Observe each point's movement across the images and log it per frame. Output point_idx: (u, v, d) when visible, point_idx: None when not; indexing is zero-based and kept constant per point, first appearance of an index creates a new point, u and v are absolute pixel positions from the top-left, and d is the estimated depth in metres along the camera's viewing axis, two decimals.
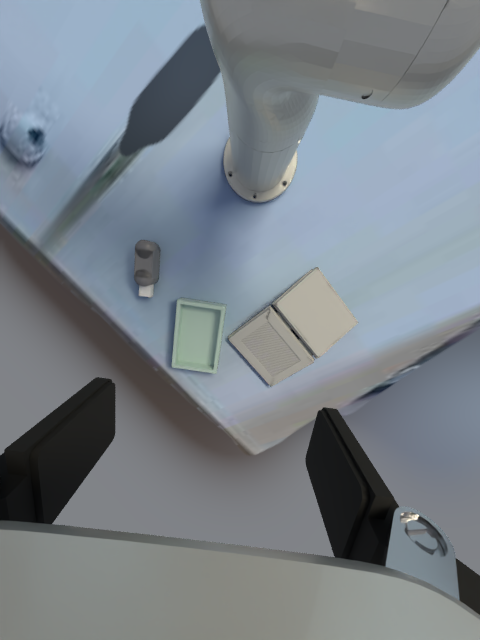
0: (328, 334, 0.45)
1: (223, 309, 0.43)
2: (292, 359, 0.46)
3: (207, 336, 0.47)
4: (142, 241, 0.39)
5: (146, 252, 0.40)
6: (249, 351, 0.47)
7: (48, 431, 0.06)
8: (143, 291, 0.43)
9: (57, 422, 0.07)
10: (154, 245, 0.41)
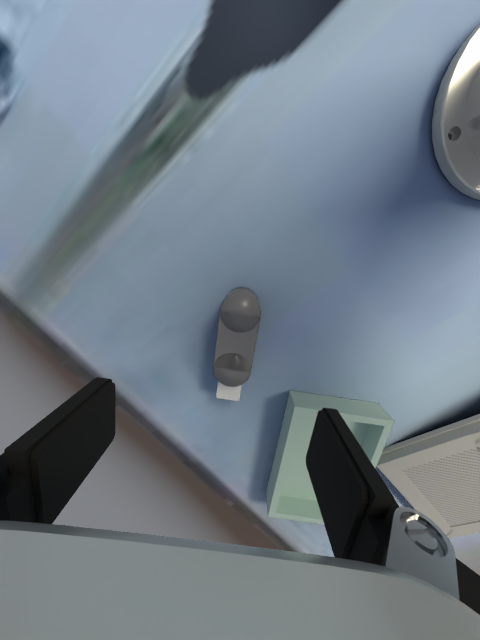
0: None
1: (389, 425, 0.21)
2: None
3: None
4: (238, 296, 0.17)
5: (245, 319, 0.18)
6: (415, 488, 0.24)
7: (47, 431, 0.06)
8: (226, 390, 0.21)
9: (57, 422, 0.07)
10: (257, 300, 0.19)
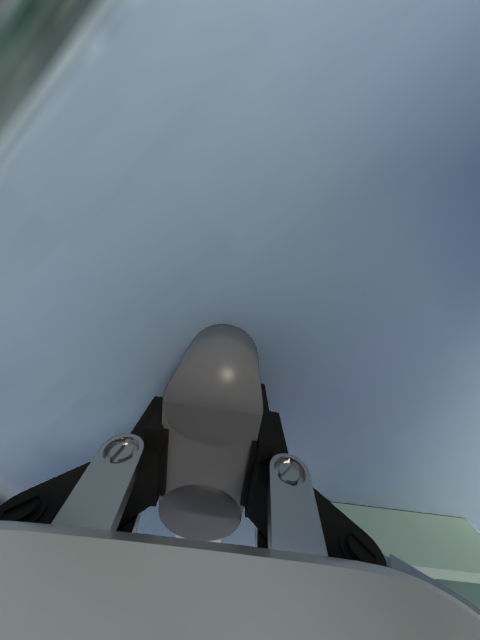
0: None
1: None
2: None
3: None
4: (205, 371, 0.07)
5: (224, 421, 0.07)
6: None
7: None
8: None
9: None
10: (255, 365, 0.08)
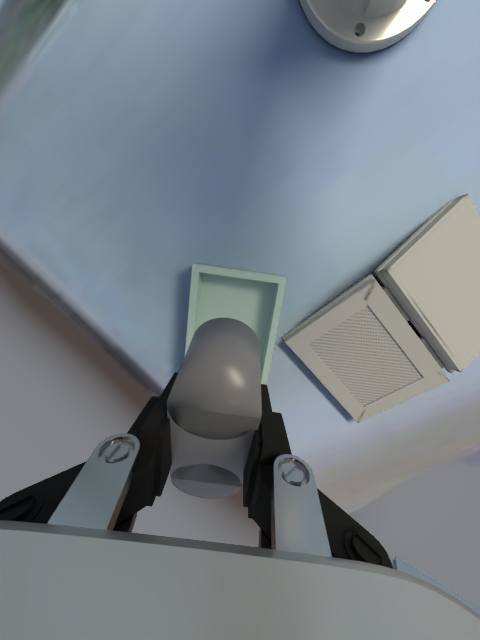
0: (479, 327, 0.23)
1: (283, 282, 0.22)
2: (406, 376, 0.25)
3: None
4: (206, 383, 0.07)
5: (226, 422, 0.08)
6: (323, 364, 0.26)
7: (164, 415, 0.08)
8: None
9: (166, 408, 0.08)
10: (255, 367, 0.08)
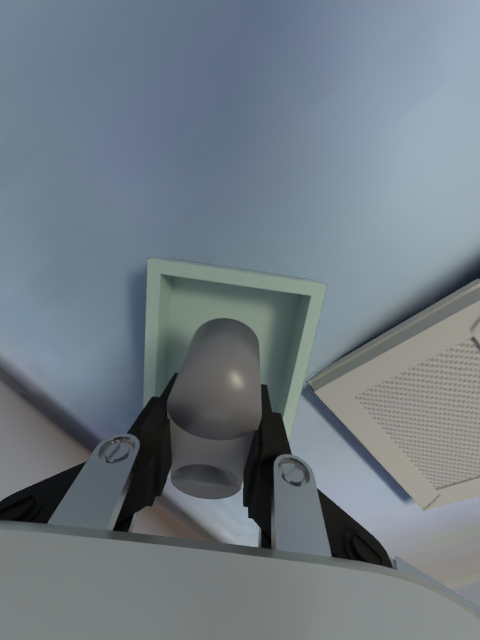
0: None
1: (318, 293, 0.12)
2: None
3: None
4: (206, 384, 0.07)
5: (225, 422, 0.08)
6: (377, 426, 0.15)
7: (164, 415, 0.08)
8: None
9: (166, 408, 0.08)
10: (255, 368, 0.08)
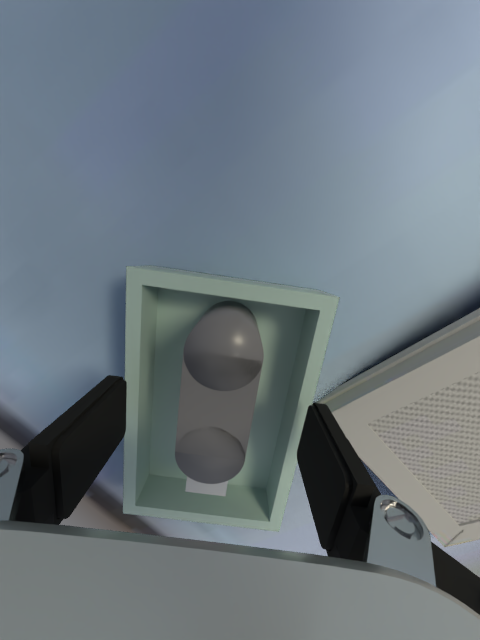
0: None
1: (329, 307, 0.10)
2: None
3: None
4: (218, 323, 0.09)
5: (233, 367, 0.09)
6: (394, 456, 0.14)
7: (67, 426, 0.07)
8: None
9: (75, 417, 0.07)
10: (256, 327, 0.10)
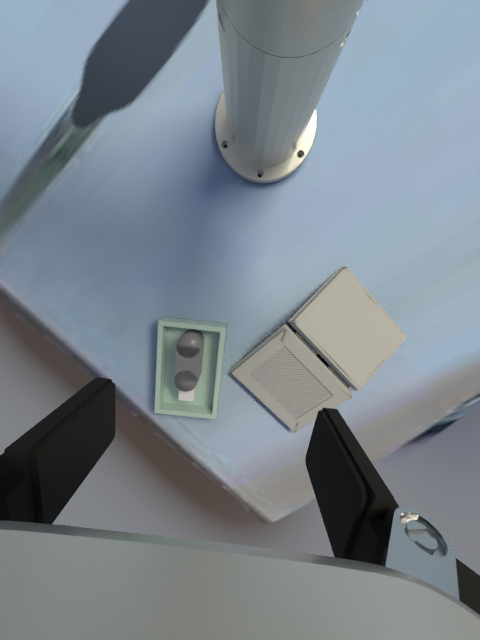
0: (368, 357, 0.32)
1: (222, 331, 0.31)
2: (321, 395, 0.33)
3: (202, 367, 0.34)
4: (186, 337, 0.30)
5: (191, 350, 0.30)
6: (261, 388, 0.34)
7: (48, 431, 0.06)
8: (184, 394, 0.32)
9: (57, 422, 0.07)
10: (199, 338, 0.31)
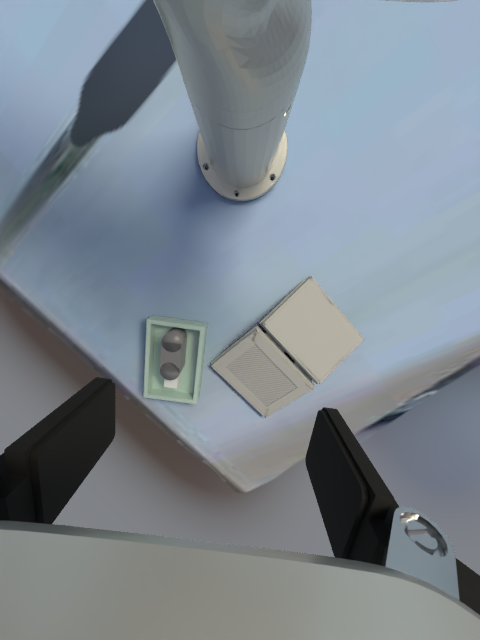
0: (329, 355, 0.37)
1: (202, 329, 0.36)
2: (287, 386, 0.39)
3: (185, 360, 0.40)
4: (170, 334, 0.34)
5: (174, 345, 0.35)
6: (236, 379, 0.40)
7: (48, 431, 0.06)
8: (169, 382, 0.38)
9: (57, 422, 0.07)
10: (182, 335, 0.36)
